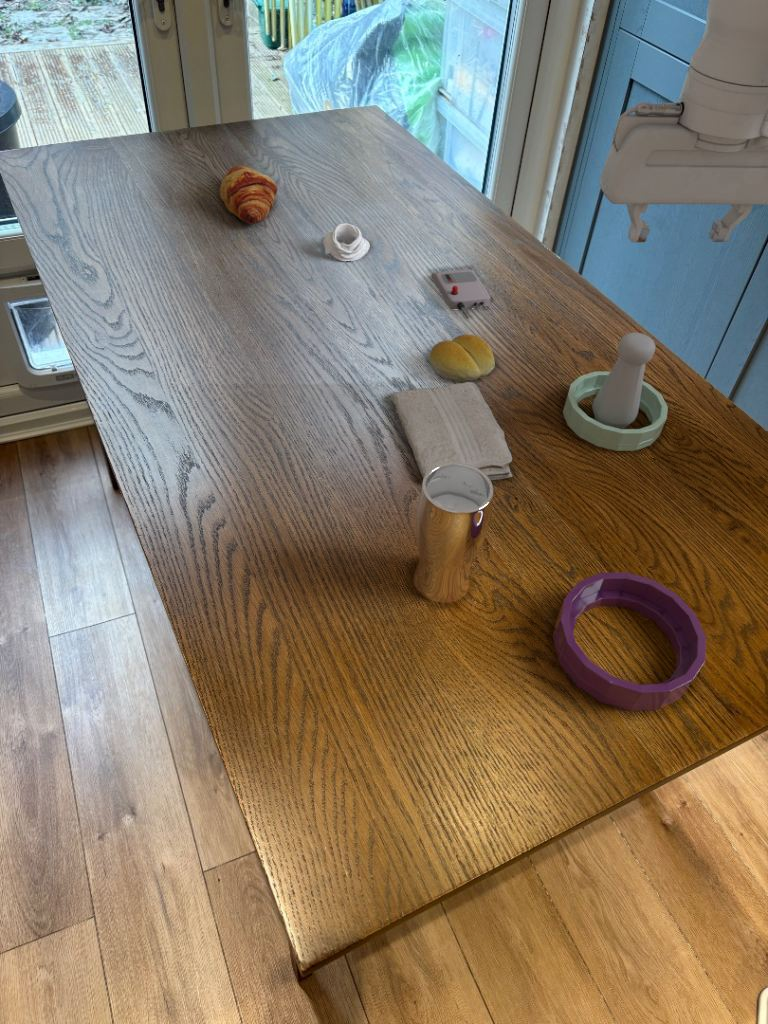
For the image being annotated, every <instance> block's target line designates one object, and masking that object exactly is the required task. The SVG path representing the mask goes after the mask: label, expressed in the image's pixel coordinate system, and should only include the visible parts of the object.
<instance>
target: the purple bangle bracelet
mask: <svg viewBox="0 0 768 1024" xmlns="http://www.w3.org/2000/svg"><path fill="white" fill-rule="evenodd" d="M611 606H613V607H615V606H617V607H618V606H619V607H622V608H626V609H629V610H632V611H636V612H638V613H640V614H641V615H643V616H645V617H647V618H648V619H649V620H651V621H653V622H655V624H656V625H658V627H659V628H660V630H662V632H663V633H664V634H665V635H666V636H667V637H668V639H669V641H670V644H671V646H672V649H673V651H674V654H675V663H674V672H673V673H672V675H671V676H670V678H669V679H666V680H665V681H662V682H661V683H651V684H649V683H648V684H639V683H635V682H632V681H629V680H625V679H622V678H619V677H616V676H613V675H612V674H610V673H608V672H607V671H606V670H604V669H603V668H601V667H600V666H598V665H597V664H596V663H594V662H593V661H591V660H590V659H589V657H588V656H587V655H586V653H585V652H584V651H583V650H582V648H581V647H580V646H579V644H578V643H577V642H576V639H575V634H574V631H575V626H576V622H577V621H578V620H579V619H580V617H581V616H582V615H583V614H584V613H586V612H589V611H591V610H593V609H596V608H598V607H611ZM554 625H555V627H554V630H553V636H552V641H553V645H554V648H555V652H556V655H557V660H558V662H559V665H561V667H562V669H563V670H564V671H565V673H566V674H567V675H568V677H569V678H570V680H572V681H573V683H574V684H575V685H576V686H577V687H579V688H580V690H582V691H584V692H585V693H587V694H589V695H590V696H591V697H592V698H594V699H596V700H597V701H598V702H600V703H603V704H605V705H609V706H612V707H616V708H618V709H622V710H625V711H629V712H640V711H643V712H644V711H658V710H661V709H663V708H665V707H667V706H669V705H671V704H673V703H675V702H677V701H679V700H680V699H682V697H683V695H684V694H685V692H686V691H687V690H688V688H689V687H690V685H691V684H692V683H693V682H694V680H695V678H696V676H697V675H698V674H699V672H700V670H701V668H702V667H703V666H704V664H705V663H706V651H707V650H706V649H707V637H706V634H705V632H704V630H703V627H702V625H701V623H700V620H699V618H698V616H697V614H696V613H695V612H694V611H693V610H692V609H691V607H690V606H689V605H688V604H687V603H686V602H685V601H684V599H682V597H680V596H679V595H678V594H677V593H676V592H674V591H672V590H671V589H669V588H667V587H666V586H664V585H663V584H661V583H659V582H657V581H655V580H654V579H652V578H649V577H643V576H641V575H637V574H633V573H630V572H626V571H622V572H621V571H619V572H599V573H597V574H595V575H592V576H589V577H587V578H585V579H581V580H580V581H578V582H577V583H576V584H575V585H574V587H572V589H571V590H570V591H569V592H568V593H567V594H566V596H564V598H563V601H562V604H561V607H560V609H559V611H558V615H557V617H556V621H555V624H554Z"/></svg>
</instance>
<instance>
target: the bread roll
mask: <svg viewBox="0 0 768 1024" xmlns="http://www.w3.org/2000/svg"><path fill="white" fill-rule="evenodd" d="M429 364H430V367H431V369H432V371H433V372H434V373H435V374H437V375H438V376H440V377H441V378H444V379H446V380H450V381H453V382H458V383H465V382H473V381H477V380H478V379H479V378H485V377H486V376H488V375H489V374H490V373H492V371H493V370H494V369H495V366H496V365H495V355H494V352H493V350H492V349H491V347H490V345H489V344H488V343H487V342H486V341H485V340H484V339H482V338H481V337H479V336H478V335H474V334H461V335H459V336H456V337H455V338H453V339H452V340H443V341H442V340H441V341H439V342H437V343H436V344H435V345H434V346H433V347H432V349H431V350H430V353H429Z"/></svg>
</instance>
